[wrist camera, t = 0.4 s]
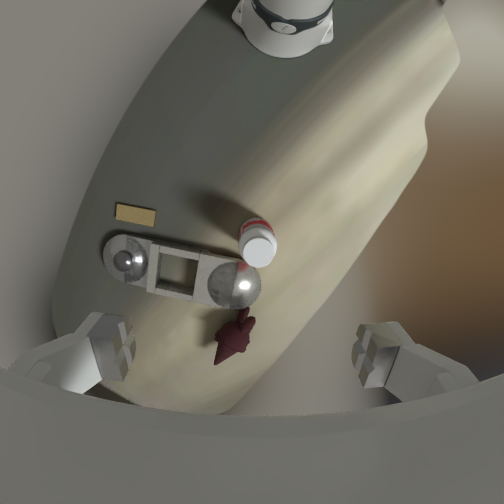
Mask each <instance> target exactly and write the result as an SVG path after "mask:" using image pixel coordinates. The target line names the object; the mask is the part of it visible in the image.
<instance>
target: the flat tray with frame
mask: <svg viewBox="0 0 504 504" xmlns="http://www.w3.org/2000/svg"><path fill="white" fill-rule="evenodd" d="M162 253H166V254H170V255H175V256H180V257H184V258H189V259H194V260H199V263H198V269H197V275H196V281H195V287H194V289H193V288H188V287H183V286H179V285H174V284H170V283H165V282H161V281H159V278H160V268H161V259H162ZM103 260H104V264H105V266H106V268H107V270H108V272H109V273H110V274H111V275H112V276H113V277H114V278H116V279H117V280H119V281H122V282H125V283H129V284H133V285H137V286H141V287H146V288H147V292H150V293H155V294H159V295H163V296H168V297H172V298H177V299H181V300H186V301H190V302H195V303H200V304H205V305H210V306H215V307H220V308H225V309H230V310H239V309H243V308H246V307H248V306H250V305H251V304H253V303H254V302H255V301H256V299H257V298H258V296H259V294H260V291H261V280H260V276H259V273H258V271H257V270H256V268H255V267H253V266H250V265H249V264H248V263H247V262H246V261H245V260H242V259H237V258H232V257H228V256H223V255H218V254H213V253H211V250H207V249H202V248H198V247H193V246H188V245H183V244H178V243H173V242H169V241H164V240H159V239H154V238H149V237H145V236H140V235H135V234H130V233H120V234H117V235H115V236H114V237H113V238H111V239H110V240H109V241H108V242H107V243H106V245H105V247H104V251H103Z"/></svg>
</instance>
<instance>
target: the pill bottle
mask: <svg viewBox="0 0 504 504" xmlns="http://www.w3.org/2000/svg"><path fill="white" fill-rule="evenodd" d="M238 247H239V252H240V255H241V256H242V258H243V259H244V260H245V261H246V262H247V263H248V264H249V265H250V266H253V267H257V268H260V267H264V266H266V265H268V264H269V263H270V262H271V261H272V259H273V257H274V255H275V253H276V250H277V242H276V238H275V235H274V233H273V230H272V227H271V226H270V224H269V223H268V222H267V221H266V220H264V219H261V218H251V219H249V220H247V221H245V222H244V223H243V225H242V226H241V228H240V232H239V244H238Z"/></svg>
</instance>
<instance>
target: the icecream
mask: <svg viewBox="0 0 504 504" xmlns="http://www.w3.org/2000/svg"><path fill="white" fill-rule="evenodd" d="M249 310H250V308H249V307H246V308H243V309H241V310H240V311H239V314H238V316H237V321H234V322H229V323H226V324H225V325H223V326H222V327H221V328H220V330H218V331H217V333H216V334H215V336H216V338H215V340H216V341H217V342H218V347H217V351H216V356H215V360H214V365H217V364H219V363H221V362H222V361H224V360H225V359H227V358H229V357H230V356H232V355H233V354H235V353H237V352H241V353H242V352H245V350H246V347H247V345H248V344H249V343H250V340H249V333H250V331H251V330H252V328H253V326H254V324H255V322H256V321H255V317H253V316H250V317H247V316H248V313H249Z"/></svg>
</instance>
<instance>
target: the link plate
mask: <svg viewBox="0 0 504 504" xmlns="http://www.w3.org/2000/svg"><path fill="white" fill-rule="evenodd" d="M156 212H157V210H151V209H146V208H141V207H136V206H131V205H125V204H120V203H118V204H117V211H116V219H118V220H123V221H128V222H132V223H137V224H142V225H147V226H152V227H154V226H155V219H156Z"/></svg>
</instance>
